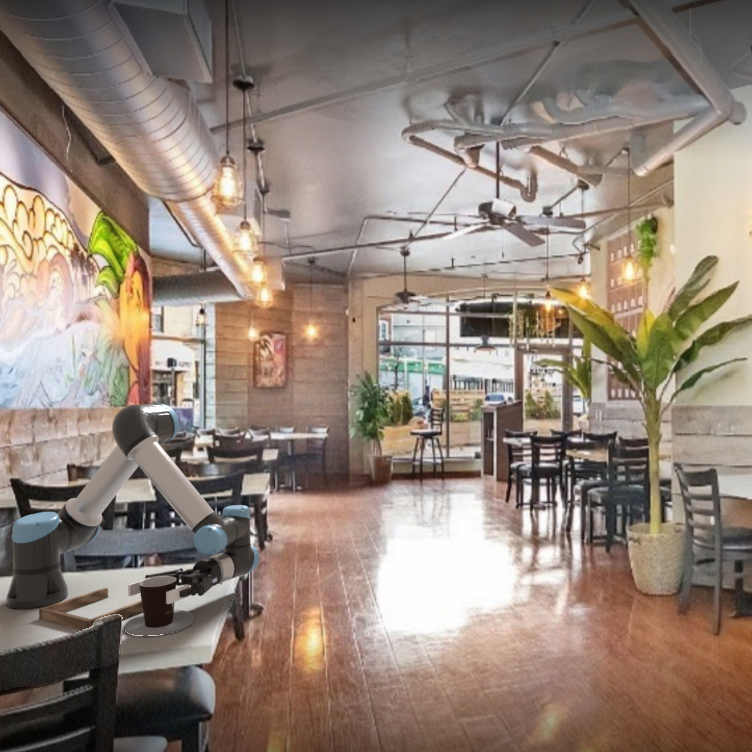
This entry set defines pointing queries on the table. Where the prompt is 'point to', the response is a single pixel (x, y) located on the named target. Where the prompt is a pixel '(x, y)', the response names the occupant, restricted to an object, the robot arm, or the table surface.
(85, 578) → the table surface
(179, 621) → the mat
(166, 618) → the coffee mug
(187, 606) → the table surface
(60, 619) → the brown wooden open frame
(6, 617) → the table surface
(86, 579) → the table surface
